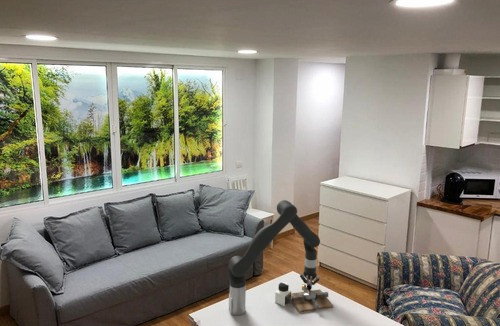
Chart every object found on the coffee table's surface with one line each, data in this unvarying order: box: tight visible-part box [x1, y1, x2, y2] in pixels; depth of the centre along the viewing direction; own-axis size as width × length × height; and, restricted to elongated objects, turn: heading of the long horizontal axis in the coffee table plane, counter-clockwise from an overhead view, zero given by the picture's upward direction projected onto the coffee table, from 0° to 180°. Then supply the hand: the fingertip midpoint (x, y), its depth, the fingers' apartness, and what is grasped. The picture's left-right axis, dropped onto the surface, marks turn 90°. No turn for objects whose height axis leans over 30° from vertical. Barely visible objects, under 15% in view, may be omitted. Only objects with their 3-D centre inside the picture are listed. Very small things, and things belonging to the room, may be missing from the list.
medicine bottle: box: [274, 281, 292, 307], centre depth 233 cm, size 7×7×12 cm
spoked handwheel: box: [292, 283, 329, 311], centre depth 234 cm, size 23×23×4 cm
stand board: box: [290, 289, 334, 314], centre depth 234 cm, size 22×18×2 cm
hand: (309, 289), depth 243 cm, fingers closed
